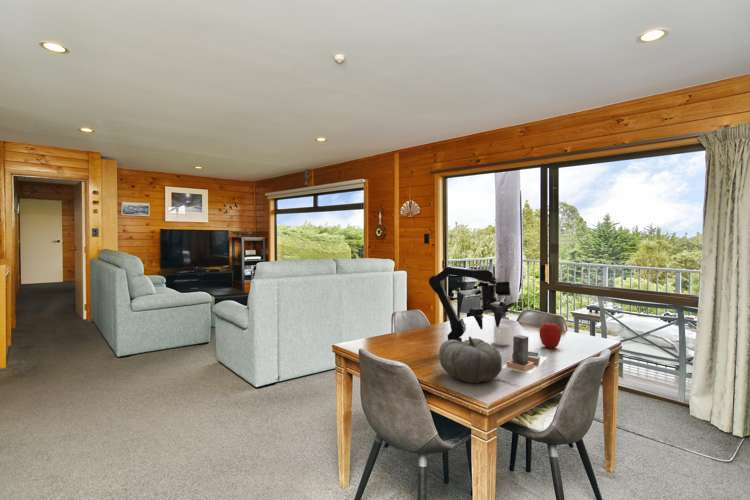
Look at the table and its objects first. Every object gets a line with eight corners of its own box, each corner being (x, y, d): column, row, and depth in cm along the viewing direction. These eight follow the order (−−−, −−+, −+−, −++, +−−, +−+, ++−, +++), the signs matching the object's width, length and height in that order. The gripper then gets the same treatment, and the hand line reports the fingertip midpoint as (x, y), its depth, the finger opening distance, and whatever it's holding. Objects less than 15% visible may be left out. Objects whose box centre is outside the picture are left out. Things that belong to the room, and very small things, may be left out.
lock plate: (530, 376, 159) (530, 366, 159) (501, 370, 166) (501, 360, 166) (547, 359, 181) (547, 351, 181) (521, 354, 188) (521, 346, 188)
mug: (504, 349, 197) (505, 329, 196) (488, 346, 202) (489, 326, 201) (512, 344, 206) (513, 325, 206) (497, 342, 211) (497, 323, 211)
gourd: (422, 369, 157) (431, 327, 158) (457, 366, 175) (465, 328, 175) (476, 394, 139) (486, 346, 140) (509, 388, 157) (517, 345, 157)
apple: (556, 345, 206) (557, 319, 206) (564, 350, 196) (564, 323, 196) (536, 344, 207) (537, 318, 207) (542, 349, 197) (543, 322, 197)
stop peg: (512, 366, 168) (513, 336, 167) (518, 364, 171) (518, 334, 170) (522, 369, 164) (523, 338, 164) (527, 367, 167) (528, 336, 167)
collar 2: (520, 359, 178) (520, 355, 178) (521, 354, 185) (521, 350, 185) (539, 361, 174) (539, 357, 174) (539, 357, 182) (540, 352, 182)
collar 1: (506, 366, 168) (506, 361, 168) (516, 362, 173) (516, 358, 173) (524, 371, 162) (524, 366, 162) (533, 367, 167) (533, 362, 167)
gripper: (481, 299, 177) (483, 333, 177) (515, 295, 183) (516, 328, 183) (467, 296, 187) (469, 329, 187) (499, 293, 194) (501, 324, 194)
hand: (489, 328), depth 188 cm, fingers open, 9 cm apart
